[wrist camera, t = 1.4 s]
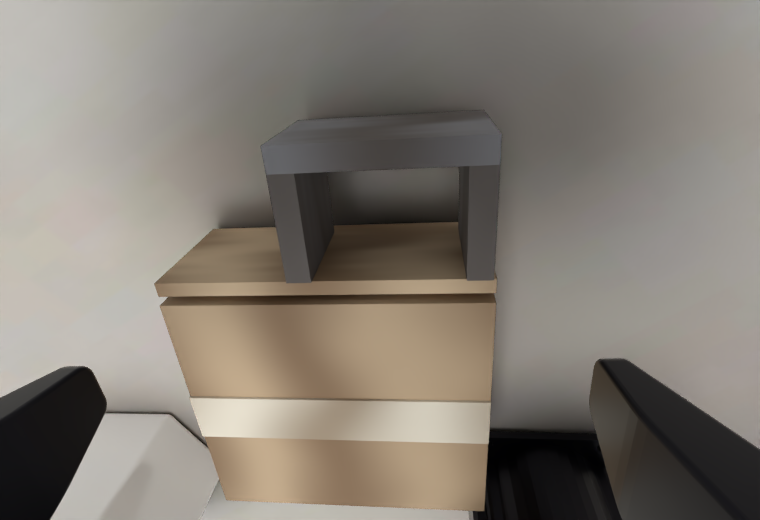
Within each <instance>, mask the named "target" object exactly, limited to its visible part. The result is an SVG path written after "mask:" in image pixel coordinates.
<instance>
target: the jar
mask: <svg viewBox="0 0 760 520" xmlns="http://www.w3.org/2000/svg"><path fill="white" fill-rule="evenodd" d="M218 480H219V477H218V474H217V472H216V469H215V466H214V463H213V460H212V457H211V454H210V451H209V449H208V448H207V447H206V446H205V445H204V444H203V443H202V442H201V441H199V440H198V439H197V438H196V437H195V436H194V435H193V434H192V433H191V432H189V431H188V430H187V429H186V428H185V427H184V426H183V425H182V424H180V423H179V422H178V421H177V420H176V419H175V418H174V417H173V416H172V415H170V414H123V413H105V415H104V417H103V419H102V421H101V423H100V425H99V427H98V429H97V431H96V433H95V435H94V437H93V439H92V441H91V443H90V445H89V447H88V449H87V451H86V453H85V455H84V457H83V460H82V462H81V464H80V466H79V468H78V470H77V472H76V474H75V476H74V478H73V480H72V482H71V484H70V486H69V488H68V490H67V491H66V493H65V495H64V497H63V499H62V501H61V502H60V504H59V506H58V507H57V509H56V511H55V513H54V514H53V516H52V518H51V519H50V520H200V519H201V517H202V515H203V513H204V510H205V508H206V506H207V504H208V502H209V500H210V497H211V495H212V493H213V491H214V489H215V487H216V485H217V482H218Z"/></svg>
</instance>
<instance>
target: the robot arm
mask: <svg viewBox="0 0 760 520" xmlns="http://www.w3.org/2000/svg"><path fill="white" fill-rule="evenodd" d="M589 406H590V412H591V416H592V420H593V423H594V427H595V430H596V434H580V433H537V432H494V431H489V441H490V442H489V444H488V454H487V471H486V489H485V506H484V511H469V520H760V449H759V448H757V447H756V446H754V445H753V444H751V443H750V442H748V441H747V440H745V439H744V438H742V437H741V436H739V435H738V434H736V433H735V432H733V431H732V430H730V429H729V428H727V427H726V426H724V425H723V424H722V423H720V422H719V421H717V420H716V419H714V418H713V417H711V416H710V415H708V414H707V413H705V412H704V411H702V410H701V409H699V408H698V407H696V406H695V405H693V404H692V403H690V402H689V401H687V400H686V399H684V398H683V397H681V396H680V395H679V394H677V393H676V392H674V391H673V390H671V389H670V388H668V387H667V386H665V385H664V384H662V383H661V382H659V381H658V380H656V379H655V378H653V377H652V376H650V375H649V374H647V373H646V372H644V371H643V370H641V369H640V368H638V367H637V366H635V365H634V364H633V363H631V362H630V361H628V360H626V359H621V358H615V359H599V360H598V361H596V363H595V365H594V370H593V377H592V383H591V390H590V396H589ZM106 408H107V402H106V398H105V396H104V394H103V392H102V390H101V388H100V386H99V384H98V382H97V380H96V377H95V375H94V373H93V372H92V370H91V369H89V368H88V367H85V366H68V367H63V368H60V369H58V370H56V371H54V372H52V373H50V374H48V375H46V376H44V377H42V378H40V379H38V380H35V381H33V382H31V383H29V384H27V385H25V386H23V387H21V388H19V389H17V390H15V391H13V392H11V393H9V394H7V395H5V396H3V397H1V398H0V520H50V519H51V518H52V516H53V514H54V513H55V511H56V509H57V507H58V506H59V504H60V502H61V501H62V499H63V497H64V495H65V493H66V491H67V490H68V488H69V486H70V484H71V482H72V480H73V478H74V476H75V474H76V472H77V470H78V468H79V466H80V464H81V462H82V460H83V457H84V455H85V453H86V451H87V449H88V447H89V445H90V443H91V441H92V439H93V437H94V435H95V433H96V431H97V429H98V427H99V425H100V423H101V421H102V419H103V417H104V415H105V412H106Z"/></svg>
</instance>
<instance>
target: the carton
mask: <svg viewBox="0 0 760 520" xmlns="http://www.w3.org/2000/svg"><path fill="white" fill-rule="evenodd" d="M160 308H161V311H162V314H163V317H164V320H165V323H166V326H167V329H168V332H169V335H170V337H171V340H172V343H173V346H174V349H175V352H176V355H177V358H178V361H179V364H180V367H181V370H182V372H183V375H184V378H185V381H186V384H187V387H188V390H189V393H190V401H191V404H192V407H193V410H194V413H195V416H196V419H197V422H198V424H199V427H200V430H201V433H202V436H204V437H205V439H206V442H207V445H208V448H209V451H210V454H211V457H212V460H213V463H214V466H215V469H216V472H217V474H218V477H219V480H220V483H221V486H222V489H223V492H224V495H225V498H226V500H233V501H256V502H279V503H303V504H326V505H349V506H372V507H395V508H419V509H442V510H465V511H484V506H485V489H486V471H487V454H488V444H489V428H490V410H491V385H492V367H493V350H494V333H495V315H496V300H495V297H494V293H454V294H362V295H271V296H179V297H168V298H167V299H166V300H165V301H164V302H163V303H162V304H161V305H160Z"/></svg>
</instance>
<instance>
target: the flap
mask: <svg viewBox="0 0 760 520" xmlns="http://www.w3.org/2000/svg"><path fill="white" fill-rule="evenodd" d="M501 143H502V133H501V132H500V131H499V129H498V128H497V127H496V125H495V124H494V123H493V121H492V120H491V119H490V117H489V116H488V115H487V113H486V112H485V111H484V110H472V111H455V112H437V113H419V114H401V115H384V116H366V117H348V118H330V119H313V120H298V121H296V122H295V123H293V124H292V125H291V126H289V127H288V128H286V129H285V130H283V131H282V132H280V133H279V134H277V135H276V136H274V137H273V138H272V139H270V140H269V141H267V142H266V143H264V144H263V145H261V151H262V156H263V161H264V167H265V172H266V177H267V183H268V188H269V193H270V199H271V204H272V209H273V215H274V220H275V226H276V227H264V228H229V229H213V230H212V231H211V232H210V233H209V234H208V235H206V236H205V237H204V238H203V239H202V240H201V241H200V242H199V243H198V244H197V245H196V246H195V247H193V248H192V249H191V250H190V251H189V252H188V253H187V254H186V255H185V256H184V257H183V258H182V259H180V260H179V261H178V262H177V263H176V264H175V265H174V266H173V267H172V268H171V269H170V270H169V271H167V272H166V273H165V274H164V275H163V276H162V277H161V278H160V279H159V280H158V281H157V282H156V283H154V285H155V287H156V290H157V293H158V296H159V297H179V296H271V295H362V294H454V293H496V288H497V277H496V273H495V254H496V236H497V217H498V199H499V180H500V161H501ZM436 167H459V210H458V222H438V223H403V224H368V225H333V217H332V209H331V201H330V193H329V184H328V176H327V172H342V171H366V170H389V169H413V168H436Z"/></svg>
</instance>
